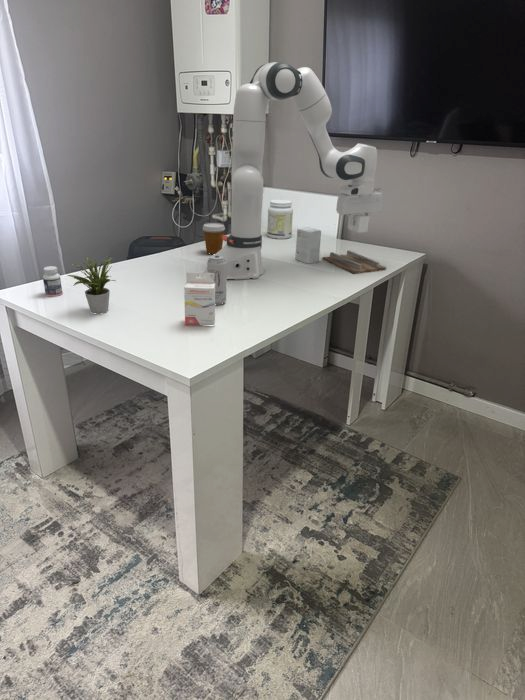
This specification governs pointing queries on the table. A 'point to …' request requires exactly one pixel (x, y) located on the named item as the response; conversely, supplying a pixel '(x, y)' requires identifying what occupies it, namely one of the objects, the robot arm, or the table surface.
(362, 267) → the brown flat wooden board
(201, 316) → the ink cartridge box
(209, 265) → the energy drink can
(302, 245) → the small box
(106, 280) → the house plant
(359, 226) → the module block
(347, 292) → the table surface
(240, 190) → the robot arm
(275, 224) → the supplement tub
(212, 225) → the disposable coffee cup
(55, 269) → the pill bottle
